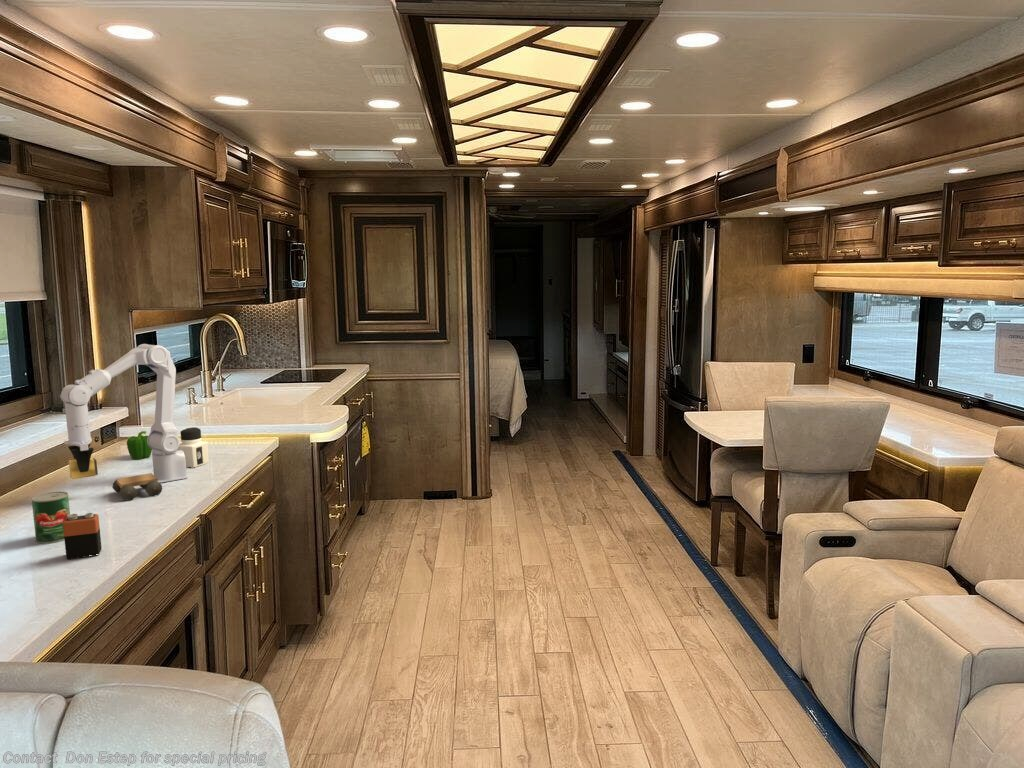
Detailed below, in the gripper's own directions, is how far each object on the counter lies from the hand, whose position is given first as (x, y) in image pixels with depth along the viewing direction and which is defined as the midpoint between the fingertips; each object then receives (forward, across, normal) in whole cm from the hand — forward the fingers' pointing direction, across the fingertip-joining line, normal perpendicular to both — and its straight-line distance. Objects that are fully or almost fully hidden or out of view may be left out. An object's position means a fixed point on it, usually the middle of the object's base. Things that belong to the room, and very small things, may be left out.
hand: (83, 470), depth 217 cm
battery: (+9, +52, -8) cm, 53 cm away
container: (+9, -20, +36) cm, 42 cm away
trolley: (+9, +6, +13) cm, 17 cm away
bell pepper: (+9, -43, +24) cm, 50 cm away
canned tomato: (+9, +34, -12) cm, 37 cm away
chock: (+2, 0, 0) cm, 2 cm away
